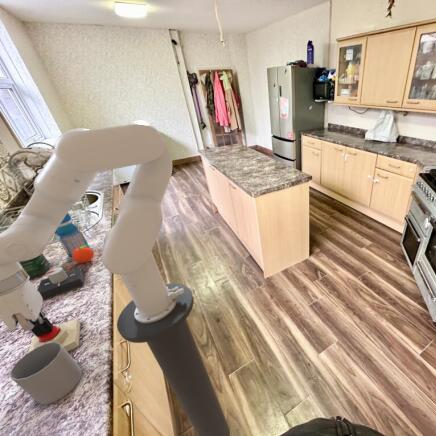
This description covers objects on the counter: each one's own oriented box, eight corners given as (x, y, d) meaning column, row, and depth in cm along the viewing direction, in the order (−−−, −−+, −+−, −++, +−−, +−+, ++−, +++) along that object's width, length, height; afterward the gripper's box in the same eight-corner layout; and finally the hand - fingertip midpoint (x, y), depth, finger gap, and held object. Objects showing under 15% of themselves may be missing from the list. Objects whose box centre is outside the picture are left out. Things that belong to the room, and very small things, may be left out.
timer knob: (68, 273, 89) (62, 265, 87) (67, 279, 86) (61, 270, 84) (53, 278, 87) (46, 270, 85) (51, 285, 84) (44, 276, 82)
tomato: (92, 253, 106) (85, 240, 103) (102, 256, 104) (95, 243, 101) (73, 264, 100) (64, 251, 96) (83, 267, 97) (75, 253, 94)
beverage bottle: (81, 259, 103) (57, 219, 93) (63, 259, 103) (38, 220, 94) (96, 248, 110) (75, 210, 101) (80, 248, 111) (57, 211, 101)
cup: (83, 360, 62) (64, 335, 57) (80, 388, 55) (58, 363, 51) (41, 380, 57) (16, 356, 53) (32, 413, 51) (3, 388, 47)
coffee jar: (47, 274, 95) (19, 235, 86) (20, 282, 91) (-11, 242, 83) (53, 262, 102) (28, 225, 94) (28, 269, 99) (0, 231, 90)
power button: (60, 326, 67) (57, 322, 66) (59, 336, 64) (55, 332, 63) (42, 334, 65) (38, 330, 64) (39, 345, 62) (35, 341, 61)
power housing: (80, 322, 72) (74, 313, 71) (78, 346, 65) (71, 337, 63) (37, 341, 67) (28, 332, 65) (29, 369, 60) (20, 360, 58)
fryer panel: (84, 272, 94) (80, 266, 93) (83, 284, 88) (79, 278, 86) (45, 286, 88) (40, 280, 87) (40, 300, 82) (35, 294, 80)
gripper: (-9, 271, 59) (32, 321, 67) (-33, 308, 48) (19, 362, 56) (32, 259, 62) (66, 308, 71) (18, 291, 52) (60, 343, 60)
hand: (45, 331), depth 64 cm, fingers closed
